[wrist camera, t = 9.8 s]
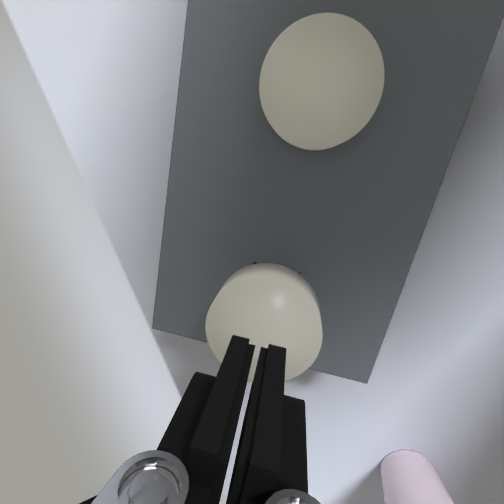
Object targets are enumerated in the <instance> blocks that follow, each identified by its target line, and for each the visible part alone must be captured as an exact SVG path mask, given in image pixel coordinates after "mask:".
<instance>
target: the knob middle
mask: <svg viewBox="0 0 504 504" xmlns="http://www.w3.org/2000/svg"><path fill="white" fill-rule="evenodd" d="M384 78H385V76H384V63H383V58H382V54H381V51H380V49H379V46H378V44H377V42H376V40H375V39H374V37H373V36H372V34H371V33H370V32H369V31H368V30H367V29H366V28H365V27H364V26H363V25H362V24H361V23H359V22H357V21H356V20H354V19H353V18H350V17H348V16H345V15H342V14H338V13H318V14H313V15H309V16H307V17H304V18H302V19H300V20H298V21H296V22H294V23H293V24H292V25H290V26H289V27H287V28H286V29H285V30H284V31H283V32H282V33H281V34H280V35H279V36H278V37H277V39H276V40H275V41H274V43H273V44H272V46H271V47H270V49H269V51H268V53H267V55H266V57H265V59H264V62H263V65H262V69H261V73H260V81H259V94H260V101H261V105H262V109H263V111H264V114H265V116H266V118H267V120H268V122H269V123H270V125H271V126H272V128H273V129H274V130H275V132H276V133H277V134H278V135H279V136H280V137H281V138H282V139H283V140H284V141H286V142H287V143H289V144H290V145H292V146H294V147H297V148H299V149H303V150H310V151H319V150H325V149H329V148H332V147H334V146H337V145H339V144H341V143H344V142H345V141H347V140H349V139H350V138H352V137H353V136H355V135H356V134H357V133H358V132H359V131H360V130H361V129H362V128H364V126H365V125H366V124H367V123H368V122H369V120H370V119H371V117H372V116H373V114H374V113H375V111H376V109H377V106H378V104H379V102H380V99H381V96H382V92H383V87H384Z"/></svg>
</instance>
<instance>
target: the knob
mask: <svg viewBox="0 0 504 504" xmlns="http://www.w3.org/2000/svg"><path fill="white" fill-rule="evenodd" d="M205 329H206V337H207V341H208V344H209V347H210V349H211V351H212V353H213V354H214V356H215V357H216V359H217V360H218V361H219V362H220V363H221V364H222V361H223V359H224V356H225V353H226V351H227V348H228V345H229V343H230V340H231V338H232V335H236V336H240V337H244V338H248V339H250V341H249V344H252V345H255V350H254V354H253V358H252V363H251V367H250V371H249V376H248V380H249V381H252V382H253V378H254V374H255V370H256V366H257V361H258V357H259V353H260V349H261V347H264V348H268V345H269V344H272V345H276V346H280V347H284V348H286V365H285V381H288V380H290V379H293V378H295V377H297V376H299V375H300V374H302V373H303V372H305V371H306V370H307V369H308V368H309V367H310V366H311V365H312V364H313V362H314V361H315V359H316V358H317V356H318V354H319V351H320V349H321V344H322V336H323V333H322V324H321V316H320V309H319V304H318V299H317V297H316V294H315V292H314V290H313V288H312V287H311V286H310V284H309V283H308V282H307V281H306V280H305V279H304V278H303V277H302V276H301V275H300V274H298V273H297V272H295V271H294V270H292V269H290V268H288V267H285V266H282V265H279V264H274V263H257V264H252V265H249V266H246V267H243V268H241V269H240V270H238V271H236V272H235V273H234V274H232V275H231V276H230V277H229V278H228V279H227V281H226V282H225V283H224V285H223V286H222V288H221V290H220V291H219V293H218V294H217V296H216V298H215V299H214V301H213V303H212V304H211V306H210V308H209V311H208V313H207V317H206V325H205Z"/></svg>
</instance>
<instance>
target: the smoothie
mask: <svg viewBox="0 0 504 504" xmlns="http://www.w3.org/2000/svg"><path fill="white" fill-rule="evenodd" d="M380 471H381V478H382V486H383V494H384V501H385V504H454V502H453V501H452V499H451V497H450V496H449V494H448V492H447V490H446V489H445V487H444V485H443V484H442V482H441V480H440V479H439V477H438V475H437V473H436V472H435V470H434V468H433V467H432V465H431V463H430V462H429V460H428V459H427V458H426V457H425V456H423V455H422V454H420V453H418V452H415V451H410V450H400V451H395V452H392V453H390V454H389V455H387V456H386V457H385V458H384V459H383V461H382V462H381V466H380Z"/></svg>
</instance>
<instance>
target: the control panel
mask: <svg viewBox="0 0 504 504" xmlns="http://www.w3.org/2000/svg"><path fill="white" fill-rule="evenodd" d="M318 13H338V14H342V15H345V16H348V17H350V18H353V19H354V20H356V21H357V22H359V23H361V24H362V25H363V26H364V27H365V28H366V29H367V30H368V31H369V32H370V33H371V34H372V36H373V37H374V39H375V40H376V42H377V44H378V46H379V49H380V51H381V54H382V58H383V63H384V76H385V78H384V87H383V92H382V96H381V99H380V102H379V104H378V106H377V109H376V111H375V113H374V114H373V116H372V117H371V119H370V120H369V122H368V123H367V124H366V125H365V126H364V128H362V129H361V130H360V131H359V132H358V133H357V134H356V135H355V136H353V137H352V138H350V139H349V140H347V141H345V142H344V143H341V144H339V145H337V146H334V147H332V148H329V149H325V150H319V151H310V150H303V149H299V148H297V147H294V146H292V145H290V144H289V143H287V142H286V141H284V140H283V139H282V138H281V137H280V136H279V135H278V134H277V133H276V132H275V130H274V129H273V128H272V126H271V125H270V123H269V122H268V120H267V118H266V116H265V114H264V111H263V109H262V105H261V101H260V94H259V81H260V73H261V69H262V65H263V62H264V59H265V57H266V55H267V53H268V51H269V49H270V47H271V46H272V44H273V43H274V41H275V40H276V39H277V37H278V36H279V35H280V34H281V33H282V32H283V31H284V30H285V29H286V28H287V27H289V26H290V25H292V24H293V23H294V22H296V21H298V20H300V19H302V18H304V17H307V16H309V15H313V14H318ZM503 17H504V0H188V6H187V15H186V25H185V34H184V43H183V52H182V61H181V70H180V79H179V88H178V98H177V107H176V116H175V125H174V134H173V143H172V152H171V161H170V171H169V180H168V189H167V198H166V207H165V216H164V225H163V234H162V244H161V253H160V262H159V271H158V280H157V289H156V298H155V308H154V317H153V326H152V328H153V329H157V330H161V331H165V332H169V333H173V334H176V335H180V336H184V337H188V338H192V339H196V340H200V341H204V342H207V343H208V341H207V337H206V329H205V325H206V317H207V313H208V311H209V308H210V306H211V304H212V303H213V301H214V299H215V298H216V296H217V294H218V293H219V291H220V290H221V288H222V286H223V285H224V283H225V282H226V281H227V279H228V278H229V277H230V276H231V275H232V274H234V273H235V272H236V271H238V270H240V269H241V268H243V267H246V266H249V265H252V264H254V262H257V263H274V264H279V265H282V266H285V267H288V268H290V269H292V270H294V271H296V272H300V273H299V274H300V275H301V276H302V277H303V278H304V279H305V280H306V281H307V282H308V283H309V284H310V286H311V287H312V288H313V290H314V292H315V294H316V297H317V299H318V304H319V309H320V316H321V324H322V333H323V336H322V344H321V349H320V351H319V354H318V356H317V358H316V359H315V361H314V362H313V364H312V365H311V366H310V367H309V368H308V369H312V370H316V371H320V372H324V373H328V374H331V375H335V376H339V377H343V378H347V379H351V380H355V381H359V382H362V383H366V384H367V382H368V380H369V377H370V374H371V372H372V369H373V366H374V364H375V361H376V358H377V355H378V353H379V350H380V347H381V345H382V342H383V339H384V337H385V334H386V331H387V329H388V326H389V323H390V321H391V318H392V315H393V313H394V310H395V307H396V304H397V302H398V299H399V296H400V294H401V291H402V288H403V286H404V283H405V280H406V278H407V275H408V272H409V270H410V267H411V264H412V261H413V259H414V256H415V253H416V251H417V248H418V245H419V243H420V240H421V237H422V235H423V232H424V229H425V227H426V224H427V221H428V219H429V216H430V213H431V210H432V208H433V205H434V202H435V200H436V197H437V194H438V192H439V189H440V186H441V184H442V181H443V178H444V176H445V173H446V170H447V167H448V165H449V162H450V159H451V157H452V154H453V151H454V149H455V146H456V143H457V141H458V138H459V135H460V133H461V130H462V127H463V125H464V122H465V119H466V116H467V114H468V111H469V108H470V106H471V103H472V100H473V98H474V95H475V92H476V90H477V87H478V84H479V82H480V79H481V76H482V73H483V71H484V68H485V65H486V63H487V60H488V57H489V55H490V52H491V49H492V47H493V44H494V41H495V39H496V36H497V33H498V30H499V28H500V25H501V22H502V20H503Z"/></svg>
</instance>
